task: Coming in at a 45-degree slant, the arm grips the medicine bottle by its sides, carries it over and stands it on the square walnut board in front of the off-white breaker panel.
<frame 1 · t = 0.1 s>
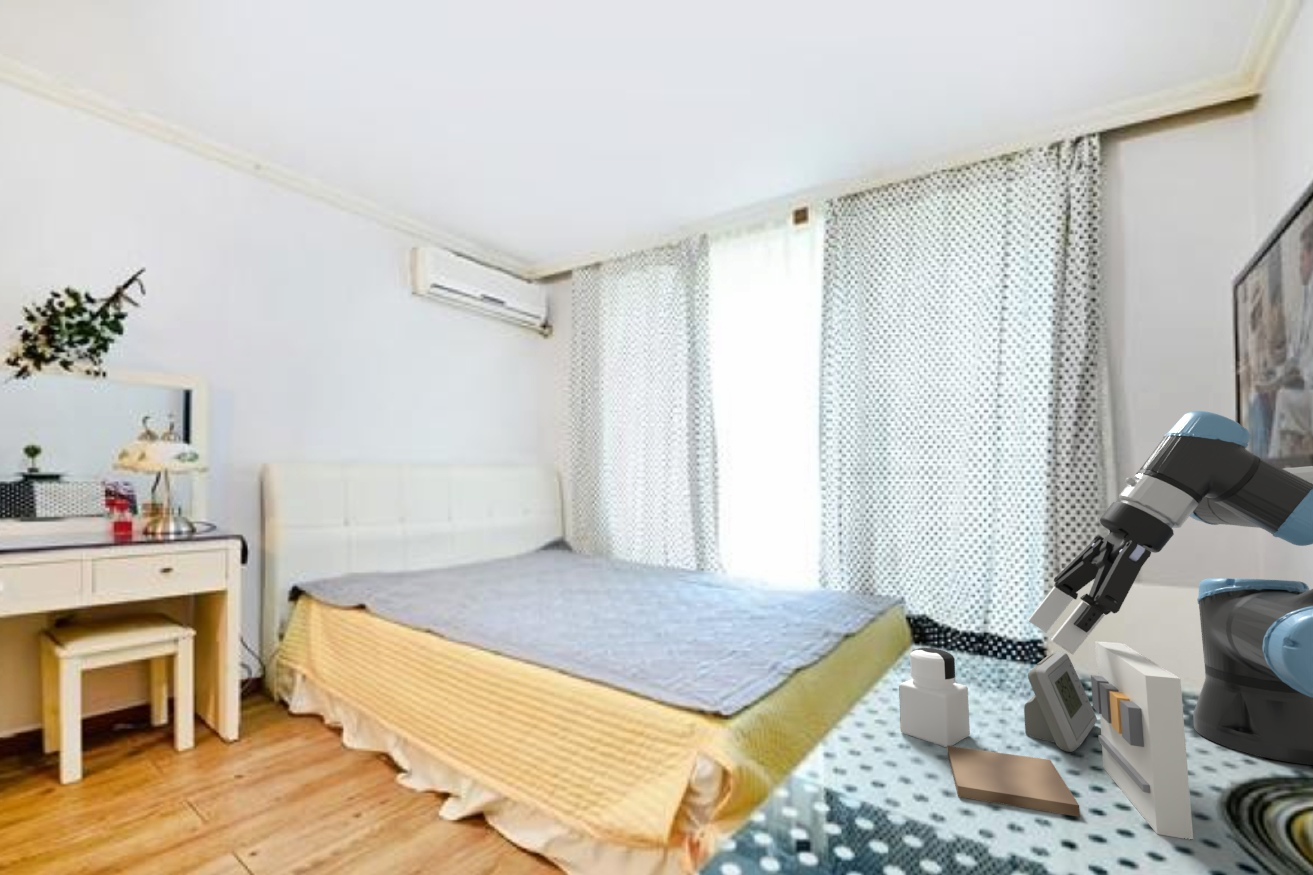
hand: (1047, 636, 84), 15 cm above the table, tool tilted 35°, fingers open, 13 cm apart
breaker panel: (1143, 799, 68), on the table
medicine bottle: (935, 736, 87), on the table
walnut board: (1006, 782, 72), on the table
digital clock: (1065, 736, 87), on the table
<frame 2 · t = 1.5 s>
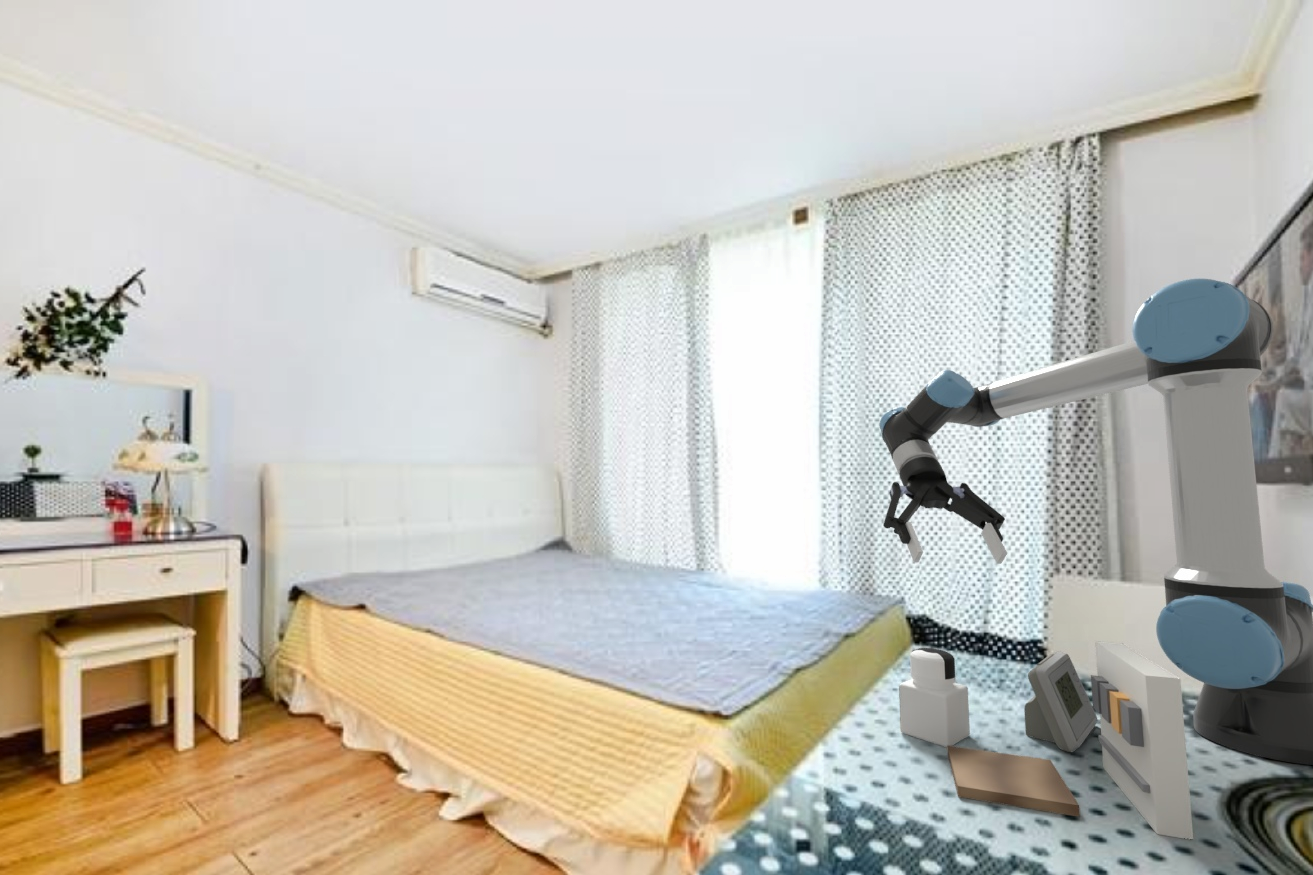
hand: (960, 558, 97), 25 cm above the table, tool tilted 45°, fingers open, 13 cm apart
nothing on the table moved.
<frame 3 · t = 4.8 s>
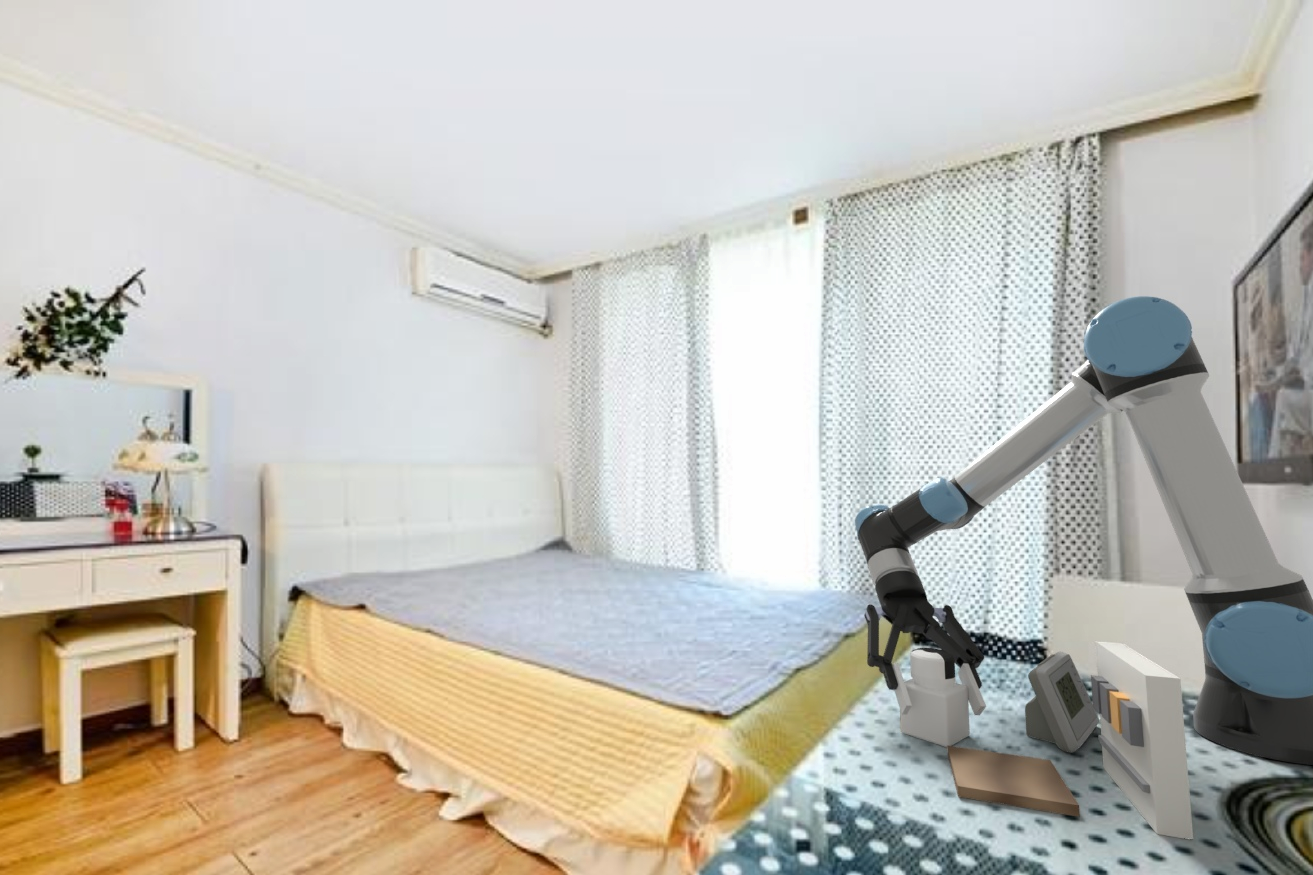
hand: (943, 710, 84), 4 cm above the table, tool tilted 45°, fingers closed on medicine bottle, 10 cm apart
medicine bottle: (935, 735, 87), on the table, touching gripper
everything else where it was.
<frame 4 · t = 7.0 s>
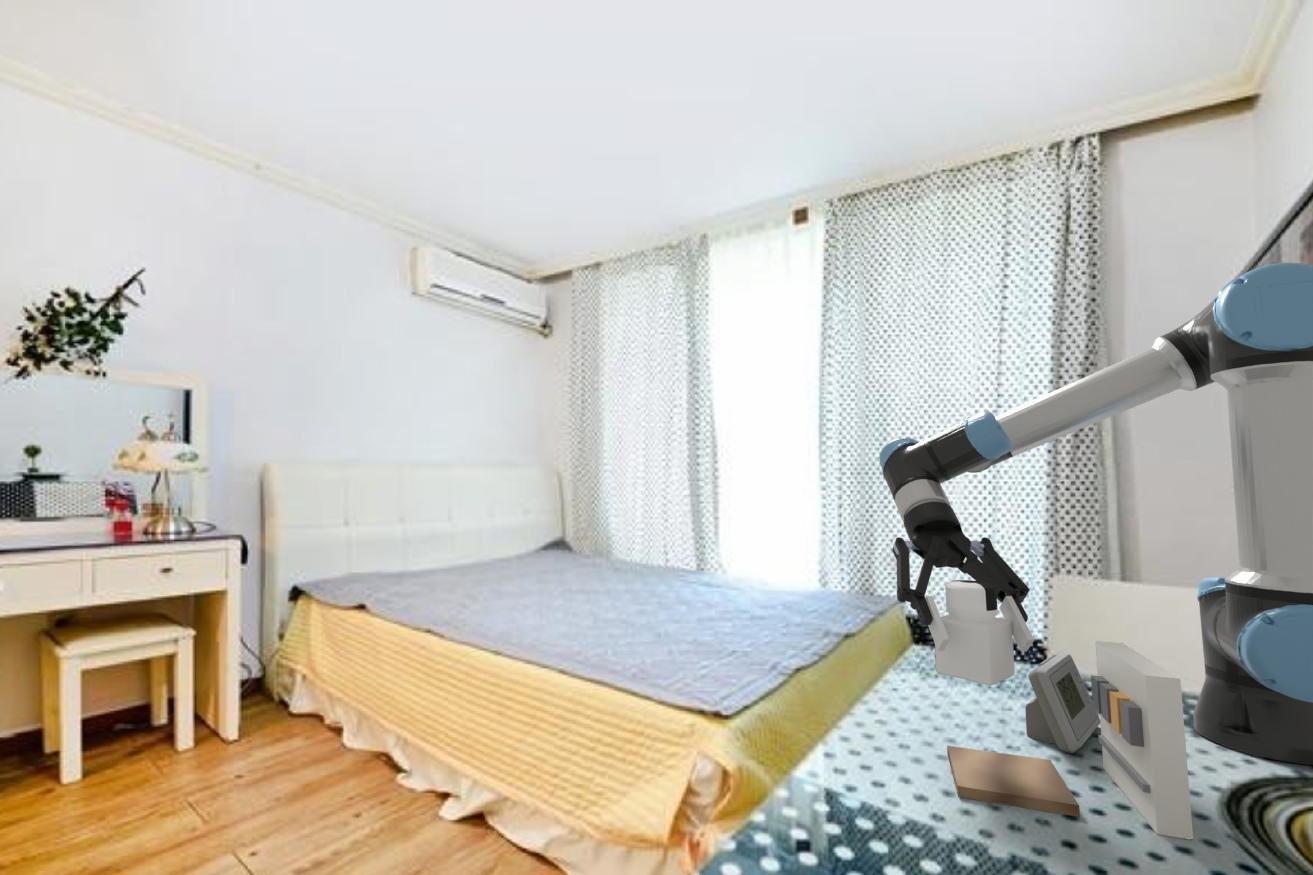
hand: (985, 645, 75), 16 cm above the table, tool tilted 45°, fingers closed on medicine bottle, 10 cm apart
medicine bottle: (975, 676, 78), point 11 cm above the table, touching gripper
everything else where it was.
when the fingers open (7 cm above the table, at t = 9.6 s): medicine bottle drops 1 cm, resting on walnut board.
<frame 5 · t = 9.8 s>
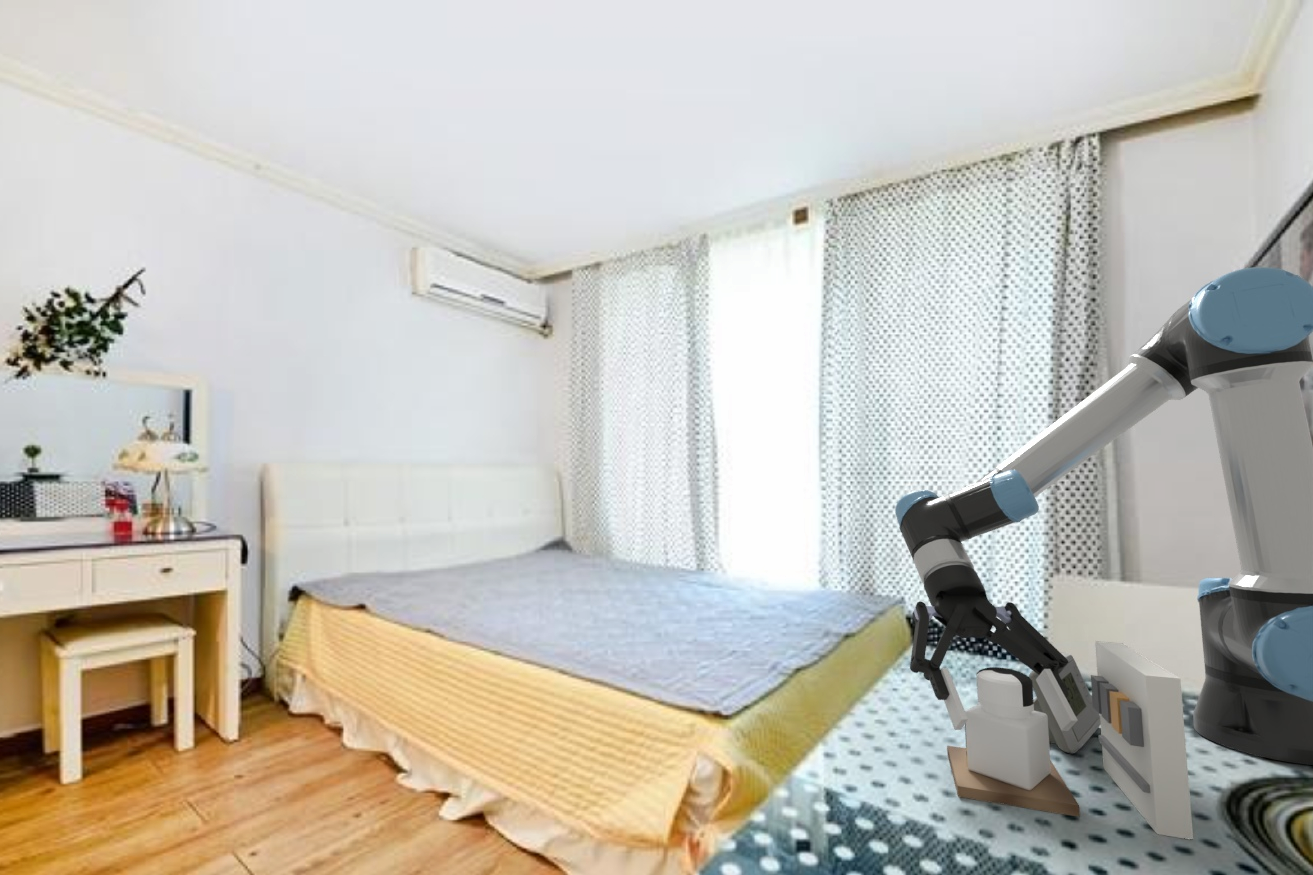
hand: (1015, 725, 71), 8 cm above the table, tool tilted 45°, fingers open, 12 cm apart
medicine bottle: (1008, 773, 73), point 1 cm above the table, touching walnut board
everything else where it was.
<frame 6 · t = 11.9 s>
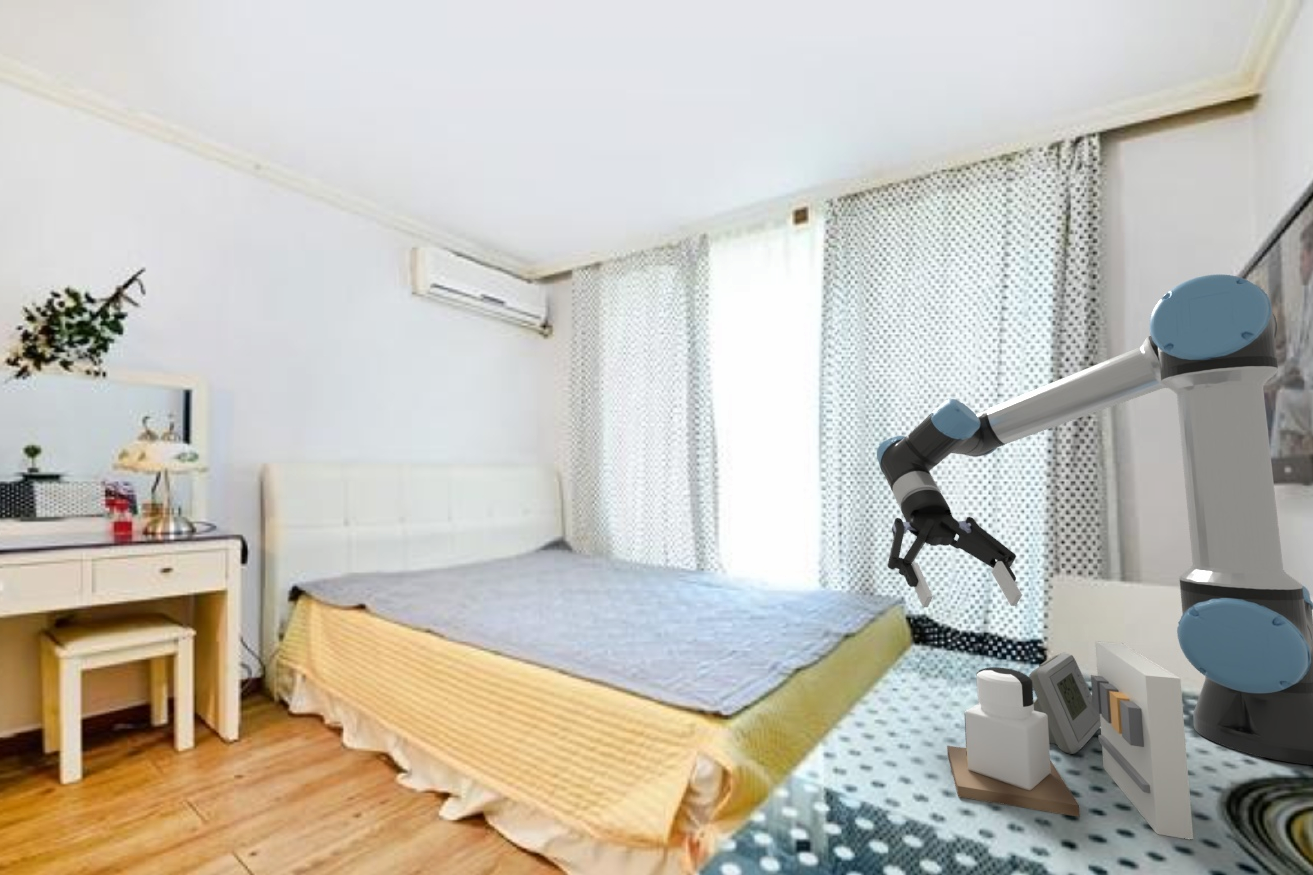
hand: (972, 601, 90), 19 cm above the table, tool tilted 45°, fingers open, 13 cm apart
nothing on the table moved.
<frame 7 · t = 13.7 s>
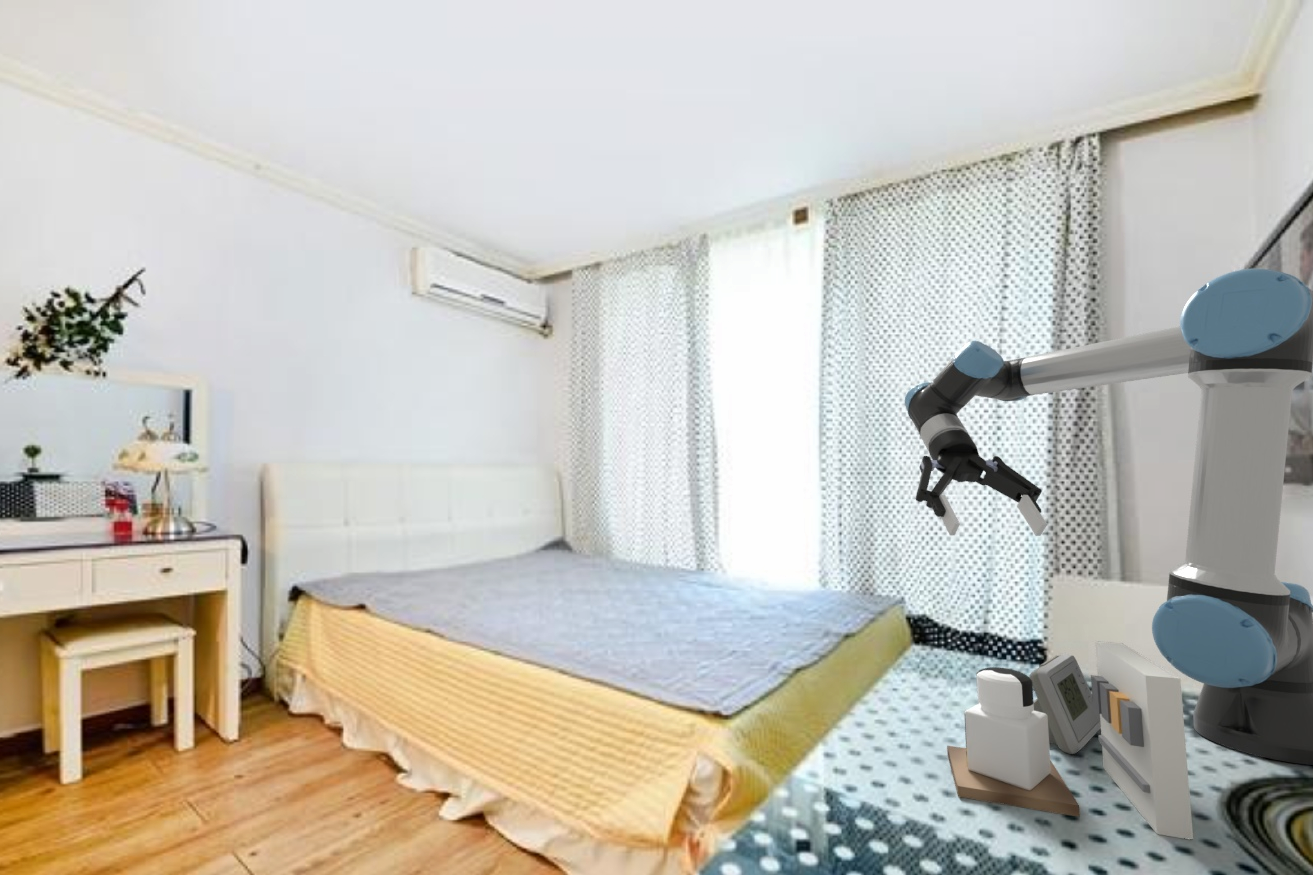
hand: (998, 530, 93), 30 cm above the table, tool tilted 45°, fingers open, 13 cm apart
nothing on the table moved.
at the end: medicine bottle inside the target area on the walnut board (0.4 cm from its centre), point 1.0 cm above the walnut board's base; medicine bottle tilted 0°; the gripper is holding nothing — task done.
